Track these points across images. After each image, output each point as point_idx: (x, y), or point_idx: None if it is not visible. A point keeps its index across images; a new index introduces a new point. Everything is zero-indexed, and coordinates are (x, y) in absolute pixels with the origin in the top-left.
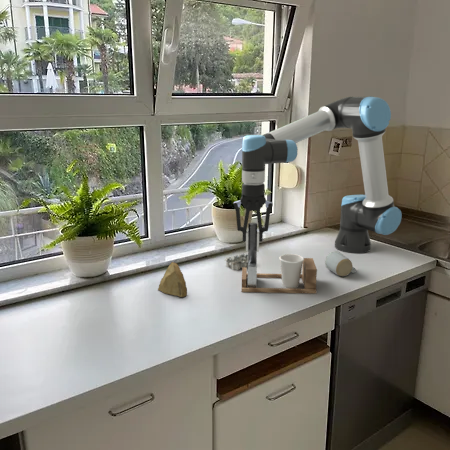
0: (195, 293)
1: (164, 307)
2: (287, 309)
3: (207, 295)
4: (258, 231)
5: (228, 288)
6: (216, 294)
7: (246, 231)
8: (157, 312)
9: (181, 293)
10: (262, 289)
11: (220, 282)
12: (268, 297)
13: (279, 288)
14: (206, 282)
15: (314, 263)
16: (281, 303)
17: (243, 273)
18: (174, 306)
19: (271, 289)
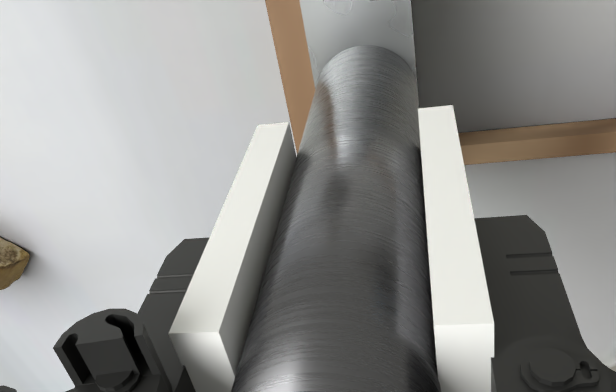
0: (55, 216)
1: (10, 354)
2: (611, 332)
3: (131, 231)
4: (476, 344)
5: (217, 122)
6: (175, 214)
7: (187, 362)
8: (13, 387)
9: (4, 285)
10: (469, 162)
11: (122, 27)
12: (508, 214)
13: (608, 136)
14: (26, 46)
15: None
16: (587, 276)
17: (291, 62)
18: (43, 344)
19: (539, 157)
